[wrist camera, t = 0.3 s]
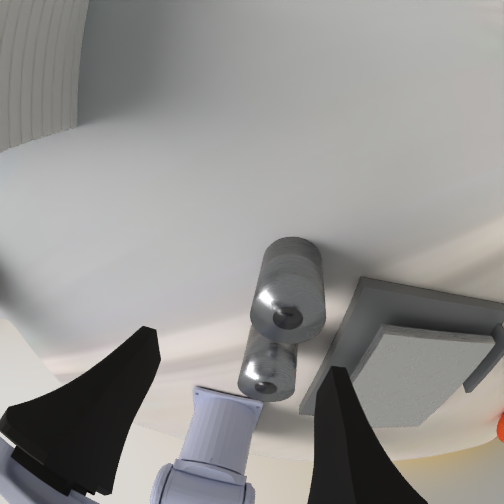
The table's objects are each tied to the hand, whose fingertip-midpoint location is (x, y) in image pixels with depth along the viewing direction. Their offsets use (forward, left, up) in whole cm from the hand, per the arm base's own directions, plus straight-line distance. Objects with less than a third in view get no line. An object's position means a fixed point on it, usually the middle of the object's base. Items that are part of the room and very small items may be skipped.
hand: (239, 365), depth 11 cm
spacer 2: (-8, -2, -10) cm, 12 cm away
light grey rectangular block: (+12, +31, -10) cm, 35 cm away
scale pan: (-10, -15, -8) cm, 19 cm away
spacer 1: (-1, -2, -10) cm, 10 cm away
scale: (-10, -15, -10) cm, 20 cm away
